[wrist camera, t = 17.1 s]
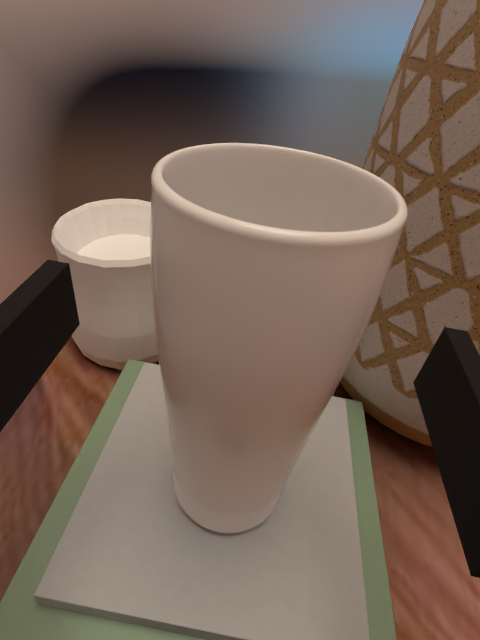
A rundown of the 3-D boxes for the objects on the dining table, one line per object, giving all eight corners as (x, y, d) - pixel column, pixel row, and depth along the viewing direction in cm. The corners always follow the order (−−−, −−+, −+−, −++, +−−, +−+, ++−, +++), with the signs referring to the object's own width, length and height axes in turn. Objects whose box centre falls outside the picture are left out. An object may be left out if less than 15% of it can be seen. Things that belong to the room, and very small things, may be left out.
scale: (-10, 679, 16) (-42, 654, 13) (130, 388, 29) (127, 347, 26) (385, 765, 15) (426, 754, 13) (350, 428, 28) (367, 391, 25)
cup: (177, 293, 38) (179, 196, 32) (201, 365, 31) (209, 257, 25) (72, 302, 35) (53, 197, 29) (71, 383, 28) (46, 266, 22)
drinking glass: (283, 426, 22) (364, 153, 13) (306, 555, 17) (468, 250, 8) (163, 424, 22) (160, 131, 12) (149, 558, 16) (126, 224, 7)
